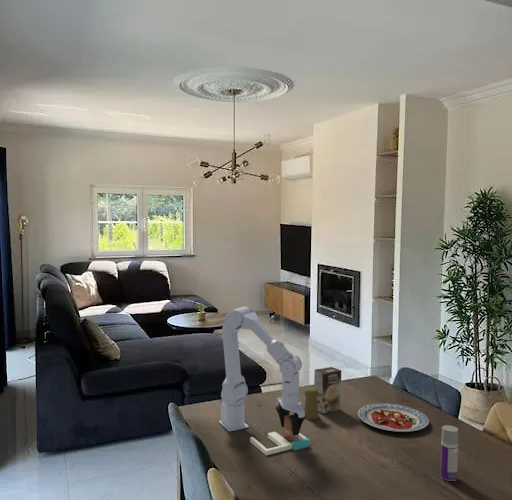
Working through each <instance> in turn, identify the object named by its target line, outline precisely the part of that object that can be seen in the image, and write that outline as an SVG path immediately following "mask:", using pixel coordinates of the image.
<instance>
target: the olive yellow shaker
mask: <svg viewBox="0 0 512 500" xmlns="http://www.w3.org/2000/svg"><path fill="white" fill-rule="evenodd" d="M304 396H305V402H304V409H303V411H305V415H306V418H305V419H306V420H310V421H311V420H312V421H314V420H317V419H318V420H319V418H320V417H319V411H318V406H317V396H318V391H317V389H315V388H314V387H307V388H305V390H304Z"/></svg>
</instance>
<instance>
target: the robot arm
mask: <svg viewBox="0 0 512 500" xmlns="http://www.w3.org/2000/svg"><path fill="white" fill-rule="evenodd" d="M221 328H222V329H221V330H222V331H221V332H222V343H223V354H224V367H225V368H224V369H225V379H224V380H223V382H222V384H221V386H222V389H221V392H220V397H221V401H222V403H221V404H220V405H221V406H220V420H219V421H218V423H219V424H220V425H221V426H222V427H223V428H225V429H226V431H228V432H233V431H239V430H243V429H247V428H248V429H249V425H248V424H247V423H245V399H246V396H247V395H248V392H249V389H248V385H247V384H246V379H245V377H244V376H243V375H242V371H241V369H242V368H241V361H240V360H241V359H240V346H239V337H238V333H239V332H240V330H250V331H252V332H253V334H254V335H255V336H256V337H258V339H259V340H260V341H262V343H263V344H264V345H266V352H267V353H268V354H269V356H271V357H272V359H273V360H274V361H275V362H276V363H277V364H278V365H279V372H280V373H281V375H282V377H281V378H282V380H281V381H282V382H281V384H282V385H281V387H282V389H281V390H282V392H281V395H282V396H281V397H277V398H276V404H277V406H275V410H276V413H277V414H278V415H277V416H278V417H279V421H280V425H281V427H282V428H284V417H285V416H286V415H289V418H290V420H291V424H292V433H293V435H294V436H295V435H299V433H300V431H301V427H302V425H303V422H304V421H305V419H306V415H305V411H304V409H303V408H302V402H300V400H299V399H300V371H301V369H302V367H303V362H302V360H301V358H300V357H299V356H298V355H295V354H293V353H292V352H290V350H289V349H287V347H286V346H285V343H284V342H283V341H281V340H279V339H275V338H274V337H273V336H272V334H271V333H270V332H269V330H267V328H266V327H265V326H264V324H263V323H262V321H260V320H259V317H258V315H257V313H256V312H255V311H254V310H253V309H252V308H251V307H250V306H248V305H244V306H242V307H237V308H235V309H231V310H229V311H228V312H227V313H226V314H225V315H224V322H223V325H222V327H221ZM290 412H292V413H293V414H290Z"/></svg>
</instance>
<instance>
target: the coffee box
mask: <svg viewBox="0 0 512 500" xmlns="http://www.w3.org/2000/svg"><path fill="white" fill-rule="evenodd" d="M313 380H314V383H313V385H314V386H313V388H315V389H317V391H318V396H317V406H318V413H321V414H326V413H330V412H331V413H332V412H335V411H340V410H341V403H342V402H341V400H342V399H341V395H342V370H341V369H339V368H335V367H333V366H330V367H323V368H317V369H314V378H313Z"/></svg>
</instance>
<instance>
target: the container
mask: <svg viewBox="0 0 512 500" xmlns="http://www.w3.org/2000/svg"><path fill="white" fill-rule="evenodd" d="M440 439H441V442H440V444H441V445H440V465H439V466H440V467H439V472H440V473H439V477H440V476H441V477H440V479H441V478H443V479H445V480H449V481H453V480H456V479H457V480H458V464H459V462H458V460H459V459H458V457H459V428H458V427H456V426H453V425H449V424H448V425H447V424H445V425H442V426H441V437H440ZM443 479H442V480H443ZM445 480H444V481H445Z"/></svg>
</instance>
